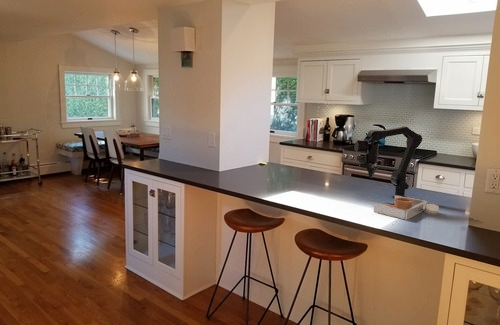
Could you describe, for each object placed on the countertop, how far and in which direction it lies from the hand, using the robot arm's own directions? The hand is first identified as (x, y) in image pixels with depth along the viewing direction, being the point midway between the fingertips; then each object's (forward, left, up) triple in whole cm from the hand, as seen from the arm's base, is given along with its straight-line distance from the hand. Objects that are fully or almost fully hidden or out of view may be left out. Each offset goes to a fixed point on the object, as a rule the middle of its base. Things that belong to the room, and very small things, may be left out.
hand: (370, 178), depth 221 cm
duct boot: (+11, +23, -12) cm, 28 cm away
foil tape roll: (+2, +36, -12) cm, 38 cm away
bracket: (+16, +22, -12) cm, 30 cm away
